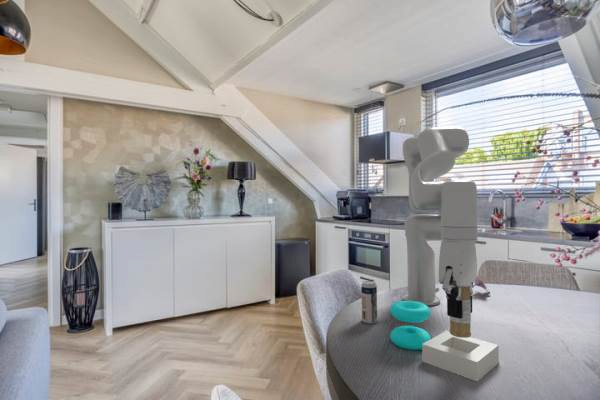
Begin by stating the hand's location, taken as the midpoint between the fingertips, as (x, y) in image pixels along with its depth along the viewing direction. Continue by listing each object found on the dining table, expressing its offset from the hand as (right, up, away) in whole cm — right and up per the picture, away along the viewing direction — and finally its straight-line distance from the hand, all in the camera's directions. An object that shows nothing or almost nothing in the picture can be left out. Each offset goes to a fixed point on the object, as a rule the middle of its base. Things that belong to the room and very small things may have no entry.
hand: (459, 313), depth 78 cm
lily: (+34, -11, +56) cm, 66 cm away
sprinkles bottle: (0, -5, 0) cm, 5 cm away
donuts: (-8, -11, +11) cm, 17 cm away
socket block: (0, -11, 0) cm, 11 cm away
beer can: (-15, -12, +27) cm, 33 cm away
